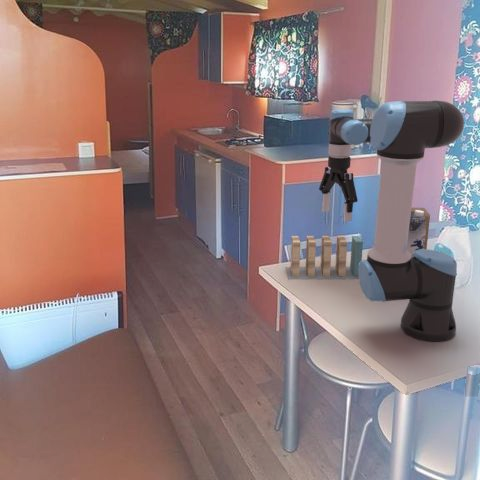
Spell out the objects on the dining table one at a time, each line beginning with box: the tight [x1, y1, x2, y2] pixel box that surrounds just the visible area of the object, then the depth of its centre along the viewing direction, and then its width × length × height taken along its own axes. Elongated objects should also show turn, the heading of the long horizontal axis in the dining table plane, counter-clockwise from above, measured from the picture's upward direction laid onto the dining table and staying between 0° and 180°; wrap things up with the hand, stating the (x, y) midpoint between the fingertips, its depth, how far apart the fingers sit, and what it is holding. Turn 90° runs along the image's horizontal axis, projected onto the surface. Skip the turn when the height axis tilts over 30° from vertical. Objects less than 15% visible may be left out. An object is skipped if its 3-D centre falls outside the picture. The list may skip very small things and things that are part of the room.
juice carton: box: [407, 210, 426, 257], centre depth 188 cm, size 9×10×27 cm
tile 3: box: [319, 235, 333, 276], centre depth 202 cm, size 7×2×13 cm, turn 0°
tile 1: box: [290, 235, 301, 277], centre depth 202 cm, size 7×2×13 cm, turn 0°
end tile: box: [349, 235, 364, 276], centre depth 202 cm, size 7×2×13 cm, turn 1°
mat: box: [284, 266, 359, 280], centre depth 204 cm, size 12×32×1 cm, turn 90°
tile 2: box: [305, 235, 317, 277], centre depth 202 cm, size 7×2×13 cm, turn 0°
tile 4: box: [334, 235, 348, 276], centre depth 202 cm, size 7×2×13 cm, turn 0°
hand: (336, 216), depth 197 cm, fingers open, 13 cm apart
